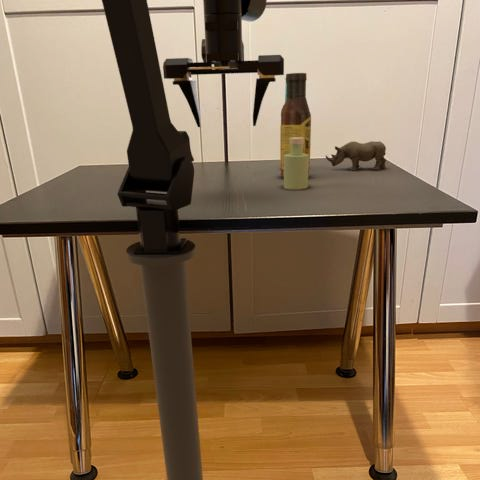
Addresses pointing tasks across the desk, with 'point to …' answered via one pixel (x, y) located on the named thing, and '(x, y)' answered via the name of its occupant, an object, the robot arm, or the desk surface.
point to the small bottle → (296, 166)
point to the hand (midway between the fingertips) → (226, 126)
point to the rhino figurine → (360, 154)
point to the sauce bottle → (295, 117)
